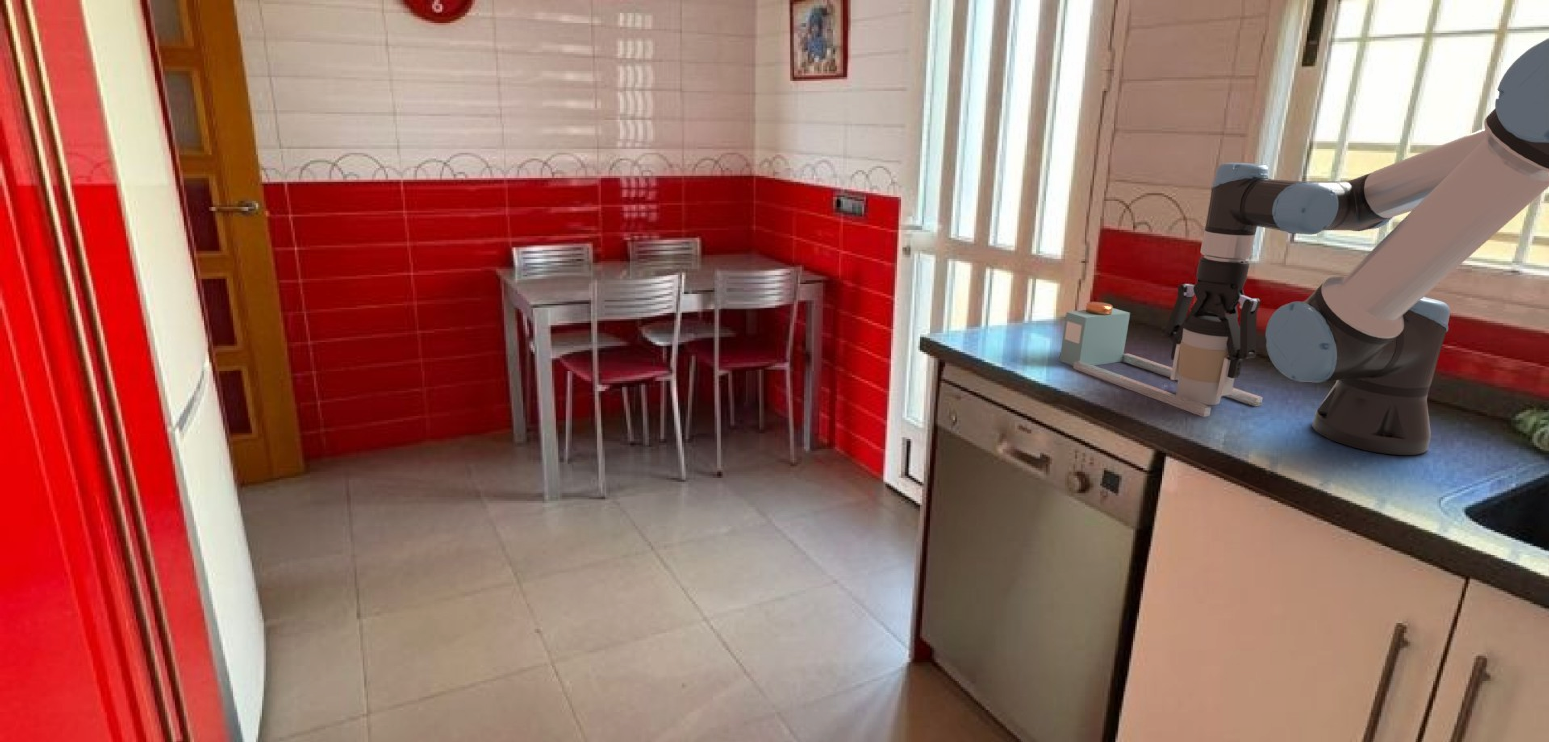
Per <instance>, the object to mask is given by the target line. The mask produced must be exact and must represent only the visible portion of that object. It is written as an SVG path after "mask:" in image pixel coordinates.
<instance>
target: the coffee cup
mask: <svg viewBox="0 0 1549 742" xmlns="http://www.w3.org/2000/svg"><path fill="white" fill-rule="evenodd" d="M1185 319H1186V318H1185ZM1185 319H1184V324H1183V326H1182V327H1183V337H1182V340H1181V347H1180V357H1179V367H1178V374H1179V375H1178V380H1177V386H1176V394H1175V395H1178V396H1181V397H1184V398H1186V399H1189V400H1192V401H1195V402H1198V403H1200V404H1203V405H1206V406H1215V405H1218V404H1220V402H1221V399H1222V396H1219V395H1217V392H1218V387H1219V382H1220V377H1221V372H1222V367H1223V362H1224V358H1227V357H1229V353H1228V348H1227V344H1226V343H1227V339H1228V337H1229V334H1228V333H1229V330H1226V326H1225V323H1224V322H1221V320H1220V319H1219V317H1218V314H1214V313H1212V312H1208V313H1206V314H1205V315H1204V316H1198V317H1195V315H1192V316H1191V317H1190V318H1189V320H1188V319H1186V320H1185ZM1239 328H1240V325H1239Z"/></svg>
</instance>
